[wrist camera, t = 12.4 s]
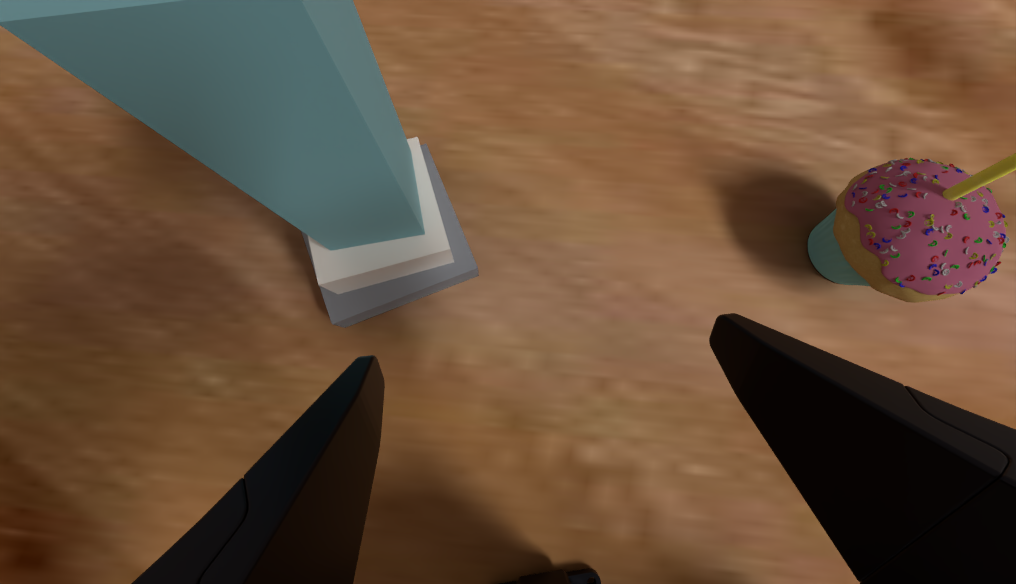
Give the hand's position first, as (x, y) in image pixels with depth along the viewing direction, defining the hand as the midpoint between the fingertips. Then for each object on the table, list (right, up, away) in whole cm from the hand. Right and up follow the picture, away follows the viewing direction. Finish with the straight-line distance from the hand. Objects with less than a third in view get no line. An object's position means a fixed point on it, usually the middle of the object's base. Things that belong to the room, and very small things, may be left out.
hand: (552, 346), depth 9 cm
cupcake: (+22, +4, +16) cm, 28 cm away
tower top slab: (-9, +6, +13) cm, 16 cm away
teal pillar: (-9, +7, +10) cm, 15 cm away
